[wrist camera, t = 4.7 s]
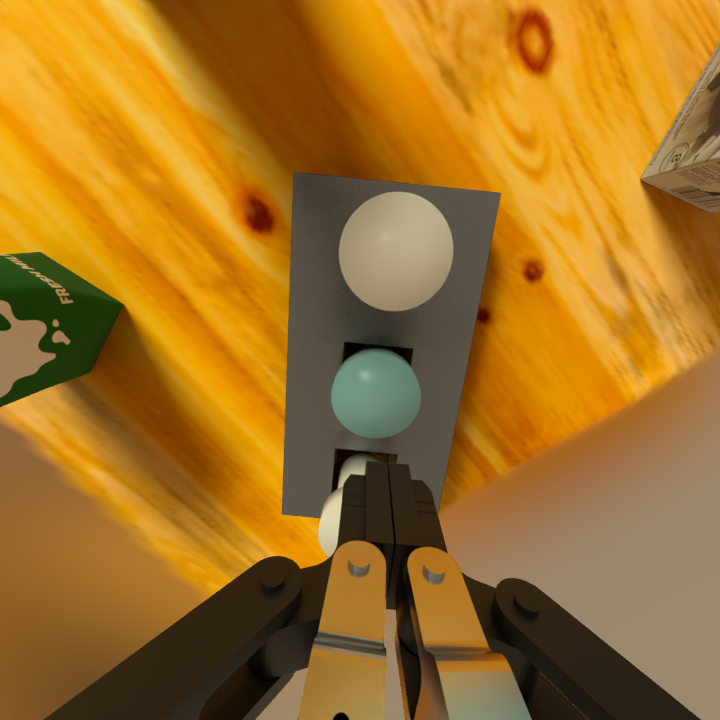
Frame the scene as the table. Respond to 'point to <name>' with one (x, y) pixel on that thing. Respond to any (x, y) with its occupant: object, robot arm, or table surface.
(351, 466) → the ivory plug
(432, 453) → the socket strip
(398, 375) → the plug teal
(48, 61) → the table surface
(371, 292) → the ivory plug
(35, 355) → the milk carton
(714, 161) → the coffee box
